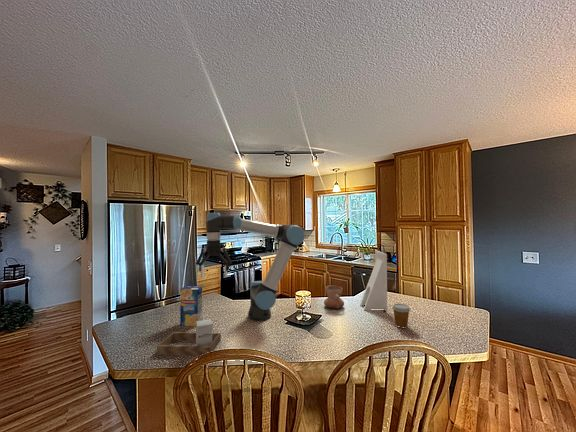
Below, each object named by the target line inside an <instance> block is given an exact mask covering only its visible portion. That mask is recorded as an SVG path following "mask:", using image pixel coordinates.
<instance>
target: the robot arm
mask: <svg viewBox="0 0 576 432" xmlns="http://www.w3.org/2000/svg"><path fill="white" fill-rule="evenodd" d="M205 222H206V248H205V247H202V248H201V250H200V253H199V256H198V258H197V260H196V262H195V265H196V266H197V265H198V268H199V269H198V271H199V272H200V278H204V277H205V264H204V263H206V261H207V259H209V257H218V258H219V259H220V260H221V261H222V262H223V263H224V266H223V267H224V269H223V270H224V278H227V277H228V271H229V269H230V265H231V264H233V261H232V260H231V258H230V256H229V253H228V251H227V247H222V246H221V230H237V231H243V232H248V233H253V234H259V235H264V236H269V237H273V238H274V239H277V240H280V241H279V243H280V246H279V249H278V250H277V252H276V255H275V257H274V258H273V261H272V263H271V265H270V268H269V269H268V272H267V274H266V276H265V278H264V280H255V281H251V283H250V286H249V287H250V290H249V291H250V306H249V309H248V312H247V318H248V320H250V321H254V322H261V321H266V320H268V319H270V318H271V317H272V312H271V308H273V307H274V306H275V304H276V299H277V294H278V291H279V290H278V285H279V283H280V281H281V279H282V276H283V274H284V272H285V270H286V268H287V265H288V263H289V261H290V259H291V257H292V254H293V252H294V251H296V250H297V249H298V247H299V246H300V244H302V243H303V242H304V239H305V238H306V237H305V235H306V233H305V231H304V229H303V228H302V227H301V226H299V225H296V224H278V223H277V224H271V223H266V222H261V221H257V220H256V221H255V220H250V219H245V218H241V216H240V215H225V216H223V215H221V214H220V212H208V213H207V214H206V221H205ZM221 247H222V248H221ZM221 252H222V253H223V255H224V256H223V255H222V253H221ZM205 253H206V255H205ZM204 255H205V256H204ZM202 258H203V259H202Z"/></svg>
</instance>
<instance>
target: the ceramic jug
mask: <svg viewBox="0 0 576 432" xmlns="http://www.w3.org/2000/svg"><path fill="white" fill-rule="evenodd" d="M325 293H326V295H327V298H325V299H324V301H323V304H324V305H325V307H326V308H328V309H334V310H335V309H336V310H337V309H341V308H343V307H344V306H345V302H344V300H343V299H342V298H341V297H342V293H343V287H341V286H338V285H327V286H325Z"/></svg>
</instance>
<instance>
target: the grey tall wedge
mask: <svg viewBox="0 0 576 432" xmlns="http://www.w3.org/2000/svg"><path fill="white" fill-rule="evenodd" d="M387 263H388V254H387V253H386V252H382V251H379V250H378V249H377V250H376V249H375V250H374V265H373V268H372V272H371V274H370V277H369V279H368V282H367V284H366V287H365V290H364V293H363V295H362V298H361V300H360V302H359V303H360V304H359V306H360V305H361V306H360V307H362V305H365V306H363V309H364V310H363V311H372V310H371V309H384V310H385V311H387V312H388V264H387Z"/></svg>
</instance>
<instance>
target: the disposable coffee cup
mask: <svg viewBox="0 0 576 432" xmlns="http://www.w3.org/2000/svg"><path fill="white" fill-rule="evenodd" d="M392 309H393V315H394V322H395V323H394V325H395V326H396V325H397V326H400V327H406V326H407V327H408V322H409V315H410V310H411V309H410V306H409V305H407V304H404V303H394V304H393V305H392Z"/></svg>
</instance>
